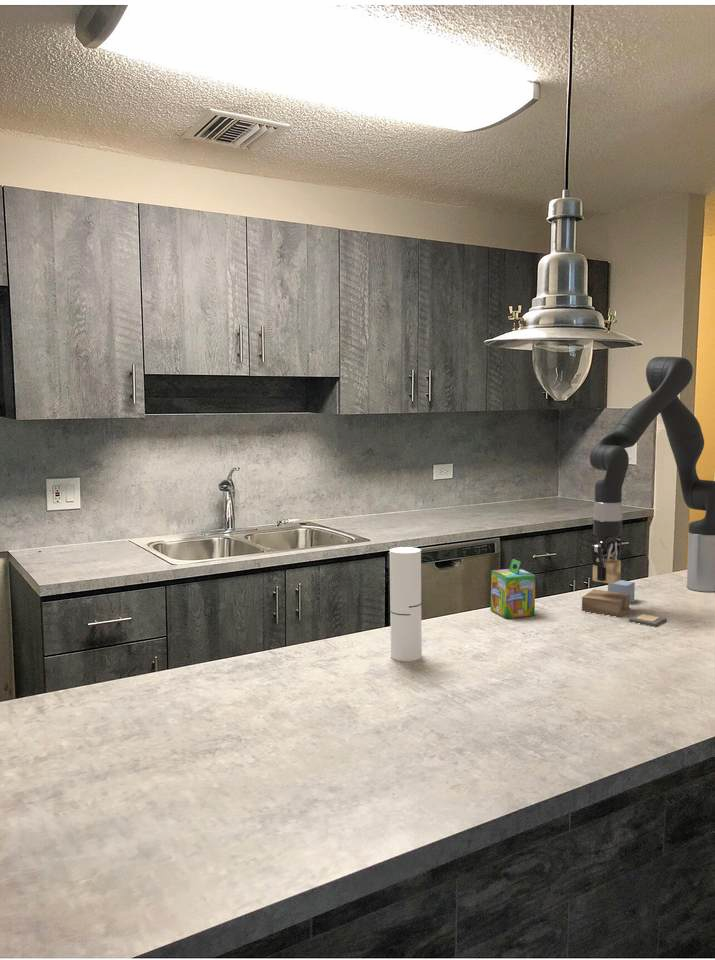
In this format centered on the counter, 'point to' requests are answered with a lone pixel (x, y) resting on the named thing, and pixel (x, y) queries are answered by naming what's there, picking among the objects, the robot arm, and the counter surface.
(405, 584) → the cylindrical container
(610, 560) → the oak block
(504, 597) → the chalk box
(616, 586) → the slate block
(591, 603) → the base block
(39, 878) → the counter surface
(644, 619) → the tile
